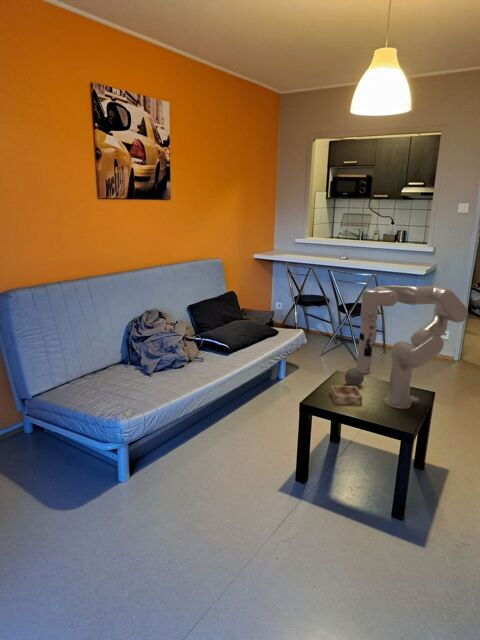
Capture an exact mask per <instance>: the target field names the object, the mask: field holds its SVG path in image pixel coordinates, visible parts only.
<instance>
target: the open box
mask: <svg viewBox="0 0 480 640" xmlns="http://www.w3.org/2000/svg"><path fill="white" fill-rule="evenodd" d="M329 394H330V396H331V400H332V402H333V403H334V405H335V406H337V405H338V406H362V405H363V395H362V393H361V392H360V390H359V388H358V386H350V385H330V393H329Z"/></svg>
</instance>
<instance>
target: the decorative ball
mask: <svg viewBox="0 0 480 640" xmlns="http://www.w3.org/2000/svg"><path fill="white" fill-rule="evenodd" d="M356 369H357V367H351V368H348V369H347V370H346V372H345V374H344V380H345V382H346V384H348V386H356V387H358V386H360V385H361V384H362V383H364V379H365V377H364V376H365V375H360V374H358V373H357V372H356Z"/></svg>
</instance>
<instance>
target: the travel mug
mask: <svg viewBox="0 0 480 640" xmlns="http://www.w3.org/2000/svg"><path fill="white" fill-rule="evenodd" d="M358 339H359V340H358V349H357V358H356V359H357V361H356V368H357V369H356V372H357V373H358V374H360V375H364V376H368V375H370V373H371V367H372V355H373V352H372V353H371V356H364V350H365V348H366V345H365V343H366V342H365V341H364V335H363V334H361V333H360V332H359V338H358ZM367 341H369V340H367ZM368 344H369V343H367V345H368ZM373 346H374V345H373ZM373 346H372V349H373Z"/></svg>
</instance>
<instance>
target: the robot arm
mask: <svg viewBox="0 0 480 640" xmlns="http://www.w3.org/2000/svg"><path fill="white" fill-rule="evenodd" d="M398 303H401V304H406V305H412V306H416V305H435V306H434V309H433V316H432V319H431V320H430V321H429V322H428V323H426V325H424V326H423V327H420V328H419V329H418V330H417V331H416V332H414V333H413V334H412V335H411V336H410V342H407V341H405V340H404V341H403V340H400V341H396V342H394V343H393V345H392V347H391V350H390V357H391V369H390V376H389V378H390V379H389V385H388V395H387V396H386V397H384V399H383V400H384V403H385V405H387V406H388V407H391V408H393V409H398V410H400V409H402V410H405V409H409V408H410V407H412V402H415V403H417V402H420V399H419V397H415V395H410V389H411V384H412V383H411V381H412V374H413V369H416V368H420V367H422V366H424V365H425V364H426V363H428V362H430V360H432V359H433V358H435V357H436V356H438V355H439V354H440V353H441V352H442V351H443V349H444V346H445V342H444V339H443V338H442V337H443V336H444V335H445V333H446V332H447V328H448V322H449V321H450V322H453V323H456V324H457V323H458V324H459V323H463V322H464V321H466V320H467V318H468V315H469V314H468V311H469V310H468V308H467V307H466V305H465V304H464V303H463V301H461V299H460V298H459V297H458V296H457V295H456V293H454V292H453V291H452V290H451V289H449V288H446V287H443V286H442V287H441V286H438V285H421V286H418V285H417V286H410V285H409V286H408V285H407V286H406V285H405V286H404V285H379V286H376V287H374V288H366V289H363V291H362V297H361V306H360V307H361V308H360V317H359V319H360V320H361V321H360V329H359V334H360V333H361V334H363V335H364V341H365V342H366V343H365V345H366V348H365V350H364V356H371V353H372V354H373V348H372V346H374V343H375V342H377V321H378V317H379V309H380V308H379V307H380V306H381V307H393V306H395V305H397V304H398ZM367 340H369V341H367ZM367 343H369V344H368V345H367Z"/></svg>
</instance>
